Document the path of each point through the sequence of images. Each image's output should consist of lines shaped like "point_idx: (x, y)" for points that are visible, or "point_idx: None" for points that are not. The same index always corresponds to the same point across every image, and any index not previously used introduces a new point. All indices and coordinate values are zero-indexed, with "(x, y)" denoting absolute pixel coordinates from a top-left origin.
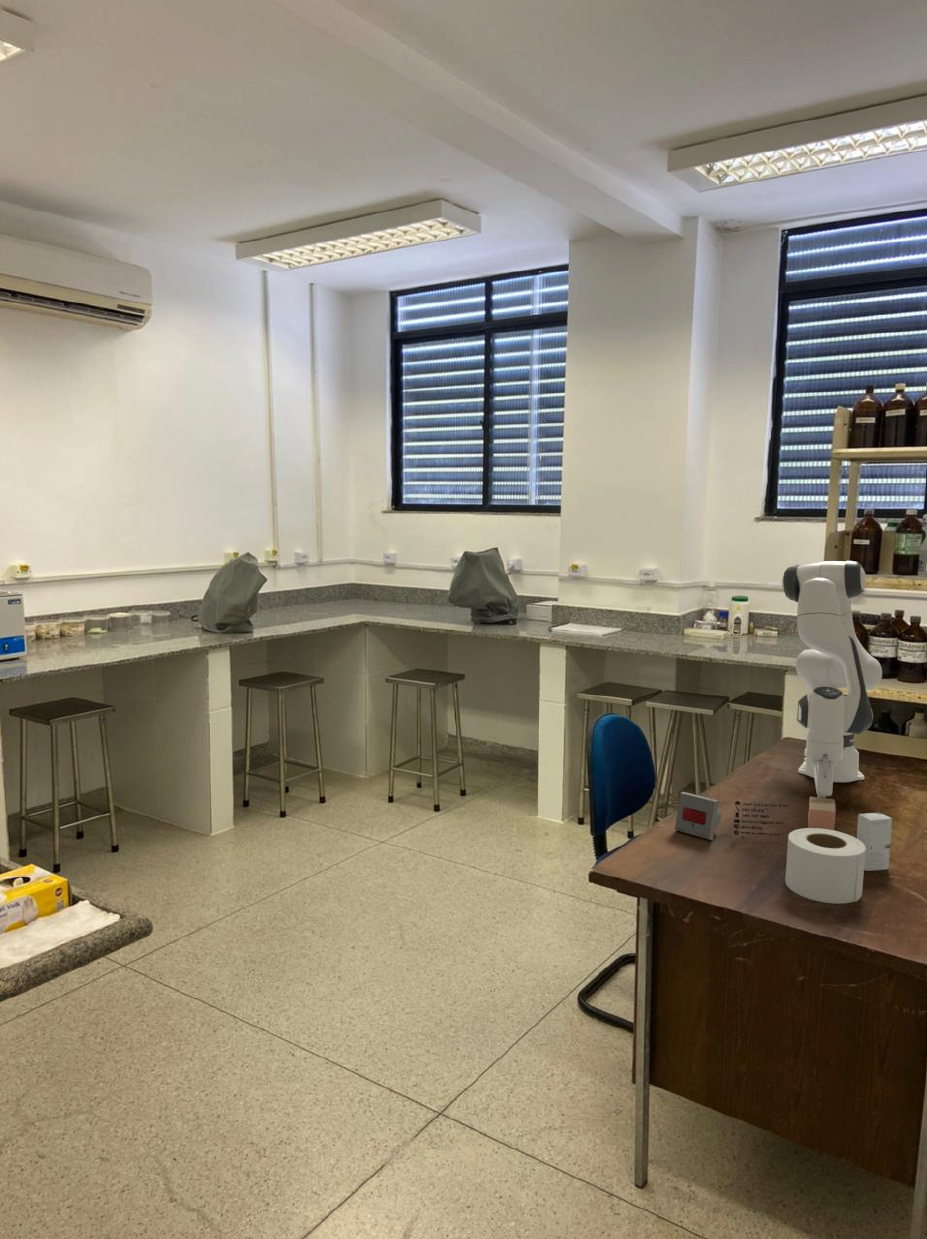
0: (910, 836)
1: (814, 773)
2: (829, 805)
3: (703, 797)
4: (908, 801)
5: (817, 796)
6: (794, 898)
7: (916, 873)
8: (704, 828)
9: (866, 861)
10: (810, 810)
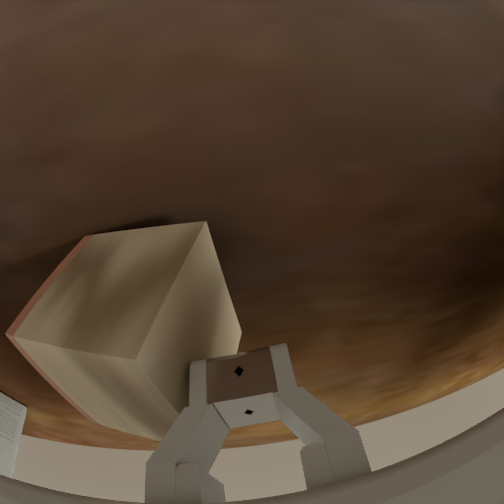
0: (267, 438)
1: (478, 493)
2: (126, 424)
3: None
4: (501, 363)
5: (284, 362)
6: None
7: (53, 440)
8: None
9: None
10: (9, 333)
